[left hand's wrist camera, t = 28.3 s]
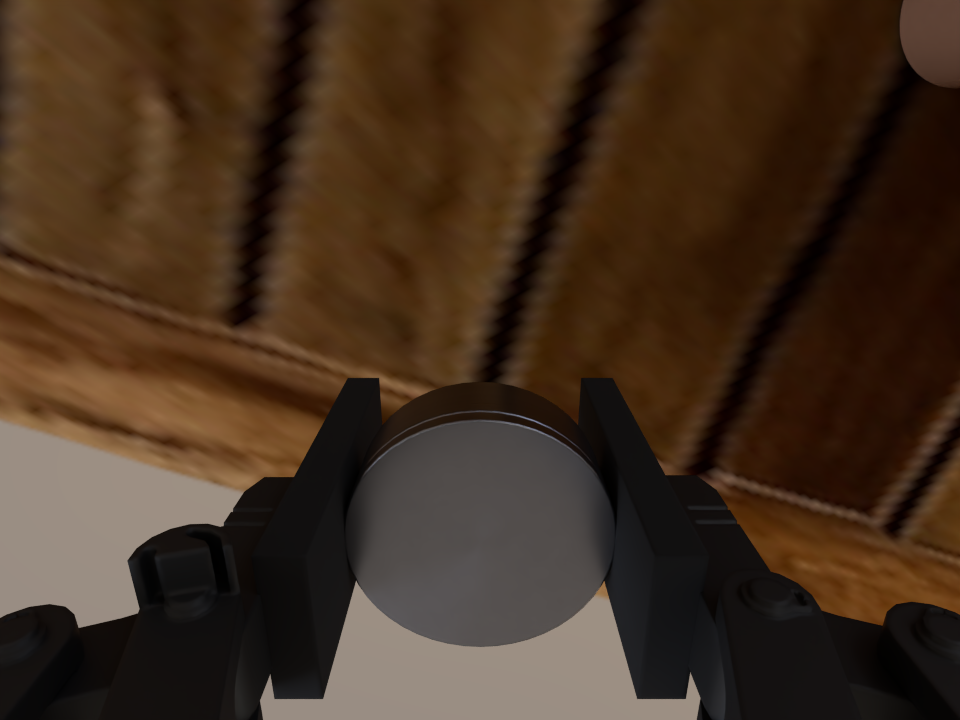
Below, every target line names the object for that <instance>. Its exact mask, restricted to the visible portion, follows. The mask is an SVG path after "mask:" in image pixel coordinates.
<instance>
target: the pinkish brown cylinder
mask: <svg viewBox="0 0 960 720" xmlns="http://www.w3.org/2000/svg"><path fill="white" fill-rule="evenodd" d="M900 40H901V45H902V48H903V52H904V54H905V56H906V59H907V61H908V62H909V64H910V65H911V67H912V68H913V69H914V70H915V71H916V72H917V74H919V75H920V76H921V77H922V78H924V79H925V80H927V81H929V82H930V83H932V84H935V85H938V86H941V87H947V88H960V0H903V4H902V8H901V14H900Z"/></svg>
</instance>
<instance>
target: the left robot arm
mask: <svg viewBox="0 0 960 720" xmlns="http://www.w3.org/2000/svg"><path fill="white" fill-rule="evenodd" d="M381 426H382V416H381V401H380V385H379V378H348V379H347V381H346V383H345V384H344V386H343V388H342V390H341V392H340V394H339V395H338V397H337V399H336V401H335V403H334V405H333V406H332V408H331V410H330V412H329V414H328V416H327V418H326V419H325V421H324V423H323V425H322V427H321V429H320V430H319V432H318V434H317V436H316V438H315V440H314V441H313V443H312V445H311V447H310V449H309V451H308V452H307V454H306V456H305V458H304V460H303V462H302V463H301V465H300V467H299V469H298V471H297V473H296V474H295V476H294V477H264V478H263V479H261V480H260V481H259V482H257V483H256V484H254V485H253V486H252V487H250V488H249V489H248V490H246V491H245V492H244V493H243V495H242V496H241V498H240V499H239V501H238V502H237V504H236V505H235V507H234V508H233V512H231V513H230V514H229V516H228V517H227V519H226V520H225V522H224V526H222V527H218V526H215V525H211V524H189V525H185V526H181V527H177V528H173V529H169V530H167V531H165V532H163V533H161V534H158V535H156V536H154V537H152V538H150V539H149V540H148V541H146V542H145V543H143V544H142V545H141V546H139V547H138V548H137V549H136V550H135V551H134V553H133V554H132V555H131V557H130V558H129V559H128V565H129V569H130V573H131V576H132V580H133V584H134V588H135V592H136V596H137V600H138V604H139V608H140V610H139V612H138V614H135V615H131V616H128V617H124V618H121V619H116V620H112V621H108V622H103V623H99V624H95V625H90V626H86V627H82V628H78V625H77V622H76V619H75V615H74V614H73V613H72V612H71V611H70V610H69V609H67V608H66V607H64V606H57V605H51V604H48V605H40V606H33V607H28V608H25V609H22V610H19V611H16V612H13V613H10V614H7V615H5V616H3V617H1V618H0V720H263V717H262V710H261V705H260V699H261V696H262V694H263V691H264V689H265V686H266V683H267V681H268V678H269V676H270V674H271V680H272V686H273V692H274V698H275V699H323V697H324V693H325V690H326V686H327V683H328V679H329V676H330V672H331V668H332V665H333V661H334V658H335V654H336V650H337V647H338V643H339V640H340V636H341V632H342V629H343V625H344V622H345V618H346V614H347V611H348V607H349V604H350V600H351V597H352V593H353V589H354V586H355V582H356V579H355V577H354V575H353V573H352V571H351V568H350V565H349V562H348V559H347V553H346V544H345V532H344V520H345V513H346V509H347V506H348V503H349V499H350V496H351V494H352V491H353V488H354V485H355V482H356V480H357V477H358V474H359V471H360V468H361V466H362V463H363V460H364V457H365V455H366V452H367V450H368V448H369V446H370V444H371V442H372V439H373V438H374V437H375V435H376V434H377V432H378V431H379V429H380V428H381ZM578 426H579V427H580V429H581V430H582V432H583V433H584V434H585V436H586V437H587V439H588V441H589V443H590V445H591V447H592V449H593V451H594V454H595V456H596V459H597V462H598V465H599V467H600V470H601V473H602V476H603V479H604V481H605V484H606V487H607V490H608V493H609V495H610V498H611V502H612V505H613V508H614V511H615V518H616V537H615V547H614V557H613V560H612V563H611V566H610V569H609V572H608V574H607V576H606V578H605V580H604V581H605V585H606V588H607V592H608V595H609V599H610V603H611V606H612V610H613V613H614V617H615V620H616V624H617V627H618V631H619V635H620V638H621V642H622V646H623V649H624V652H625V656H626V660H627V663H628V667H629V670H630V674H631V678H632V681H633V685H634V689H635V692H636V696H637V699H686V694H687V688H688V682H689V676H690V672H691V675H692V677H693V680H694V682H695V685H696V687H697V690H698V692H699V695H700V697H701V699H700V705H699V710H698V716H697V720H960V615H959V614H957V613H955V612H952V611H949V610H947V609H944V608H941V607H938V606H935V605H931V604H924V603H916V602H908V603H901V604H896V605H895V606H893V607H892V608H891V609H890V610H889V611H887V613H886V617H885V620H884V623H883V626H881V625H876V624H872V623H868V622H863V621H859V620H855V619H850V618H846V617H841V616H837V615H834V614H831V613H827V612H824V611H821V609H820V607H819V605H818V604H817V602H816V601H815V599H814V598H813V596H812V595H811V594H810V593H809V592H807V591H806V590H805V589H804V588H803V587H801V586H800V585H799V584H798V583H796V582H794V581H792V580H790V579H788V578H786V577H784V576H782V575H780V574H777V573H773V572H771V571H770V570H769V568H768V567H767V565H766V564H765V562H764V561H763V559H762V558H761V556H760V555H759V553H758V552H757V550H756V549H755V547H754V546H753V544H752V543H751V541H750V540H749V538H748V537H747V535H746V534H745V532H744V531H743V529H742V528H741V526H740V525H739V524H737V520H736V519H735V517H734V516H733V514H732V513H731V511H730V510H728V509H727V505H726V504H725V502H724V501H723V499H722V498H721V496H720V495H719V493H718V492H717V490H716V489H714V488H713V487H711V486H710V485H709V484H707V483H706V482H705V481H703V480H702V479H700V478H699V477H698V476H696V475H665V474H664V472H663V470H662V468H661V466H660V465H659V463H658V461H657V459H656V457H655V455H654V454H653V452H652V450H651V448H650V446H649V444H648V443H647V441H646V439H645V437H644V435H643V433H642V432H641V430H640V428H639V426H638V424H637V422H636V420H635V419H634V417H633V415H632V413H631V411H630V409H629V408H628V406H627V404H626V402H625V400H624V398H623V397H622V395H621V393H620V391H619V389H618V387H617V386H616V384H615V382H614V380H613V378H581V391H580V406H579V422H578Z"/></svg>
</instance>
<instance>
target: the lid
mask: <svg viewBox="0 0 960 720" xmlns="http://www.w3.org/2000/svg"><path fill="white" fill-rule="evenodd" d="M344 532H345V544H346V553H347V559H348V562H349V565H350V568H351V571H352V573H353V575H354V577H355V579H356V581H357V583H358V585H359V586H360V587H361V589H362V590H363V592H364V593H365V595H366V596H367V597H368V598H369V599H370V600H371V602H372V603H373V604H374V605H375V606H376V607H377V608H378V609H379V610H380V611H382V612H383V613H384V614H385V615H386V616H388V617H389V618H390V619H392V620H393V621H395V622H396V623H398V624H399V625H401V626H402V627H404V628H406V629H408V630H410V631H412V632H414V633H416V634H419V635H421V636H424V637H427V638H430V639H432V640H436V641H440V642H444V643H448V644H455V645H461V646H476V647H485V646H499V645H506V644H512V643H516V642H520V641H524V640H528V639H531V638H533V637H536V636H539V635H542V634H544V633H546V632H548V631H550V630H552V629H554V628H556V627H558V626H560V625H561V624H563V623H564V622H566V621H567V620H569V619H570V618H572V617H573V616H574V615H575V614H576V613H578V612H579V611H580V610H581V609H582V608H583V607H584V606H585V605H586V604H587V603H588V602H589V601H590V600H591V599H592V598H593V597H594V595H595V594H596V592H597V591H598V589H599V588H600V587H601V585H602V584H603V582H604V580H605V578H606V576H607V574H608V572H609V569H610V566H611V563H612V560H613V557H614V547H615V537H616V518H615V511H614V508H613V505H612V502H611V498H610V495H609V493H608V490H607V487H606V484H605V481H604V479H603V476H602V473H601V470H600V467H599V465H598V462H597V459H596V456H595V454H594V451H593V449H592V447H591V445H590V443H589V441H588V439H587V437H586V436H585V434H584V433H583V432H582V430H581V429H580V427H579V426H578V425H577V424H576V423H575V422H574V421H573V420H572V418H571V417H570V416H569V415H567V414H566V413H565V412H564V411H563V410H561V409H560V408H559V407H558V406H556V405H555V404H553V403H552V402H550V401H548V400H547V399H545V398H543V397H541V396H539V395H537V394H535V393H532V392H530V391H528V390H524V389H521V388H518V387H515V386H510V385H505V384H499V383H488V382H472V383H461V384H455V385H450V386H445V387H442V388H439V389H436V390H433V391H430V392H428V393H426V394H424V395H421V396H419V397H417V398H415V399H414V400H412V401H410V402H409V403H407V404H406V405H404V406H403V407H401V408H400V409H399V410H398V411H397V412H395V413H394V414H393V415H392V416H391V417H390V418H389V419H388V420H387V421H386V422H385V423H384V424H383V425H382V426H381V428H380V429H379V431H378V432H377V434H376V435H375V437H374V438H373V439H372V442H371V444H370V446H369V448H368V450H367V452H366V455H365V457H364V460H363V463H362V466H361V468H360V471H359V474H358V477H357V480H356V482H355V485H354V488H353V491H352V494H351V496H350V499H349V503H348V506H347V509H346V513H345V520H344Z"/></svg>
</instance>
